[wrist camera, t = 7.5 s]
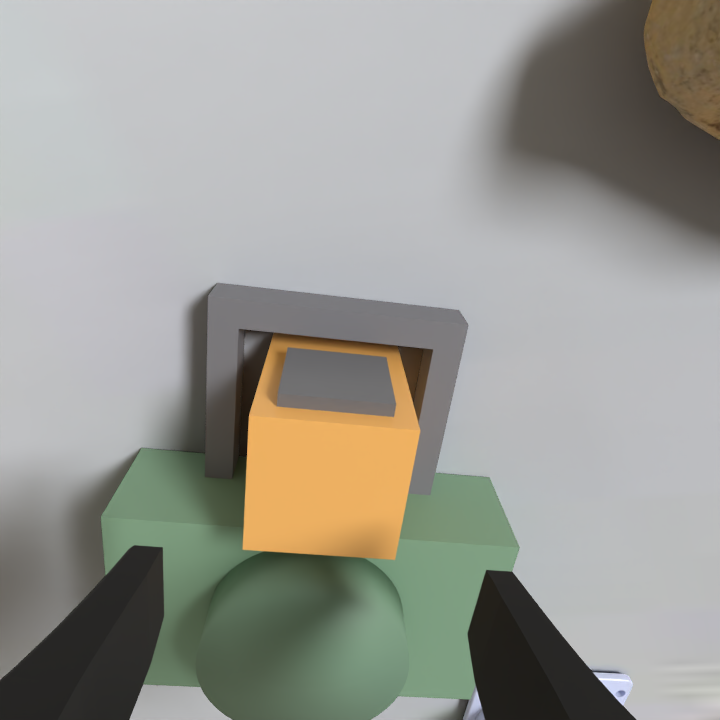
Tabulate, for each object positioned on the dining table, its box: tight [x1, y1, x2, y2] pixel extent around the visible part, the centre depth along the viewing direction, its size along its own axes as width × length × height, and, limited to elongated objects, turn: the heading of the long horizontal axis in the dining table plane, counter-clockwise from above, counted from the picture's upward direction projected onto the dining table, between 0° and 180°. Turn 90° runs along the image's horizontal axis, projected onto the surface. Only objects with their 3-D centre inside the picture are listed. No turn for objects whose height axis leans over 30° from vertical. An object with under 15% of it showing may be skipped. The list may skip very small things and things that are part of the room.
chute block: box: [243, 333, 420, 560], centre depth 18 cm, size 5×4×6 cm
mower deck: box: [101, 283, 520, 720], centre depth 19 cm, size 15×14×6 cm
